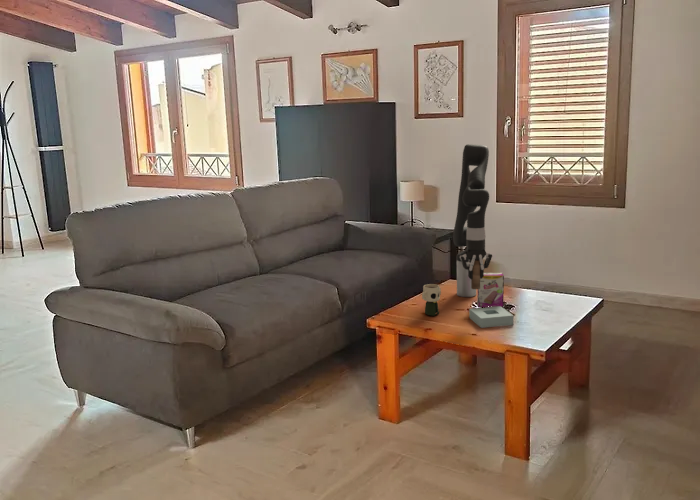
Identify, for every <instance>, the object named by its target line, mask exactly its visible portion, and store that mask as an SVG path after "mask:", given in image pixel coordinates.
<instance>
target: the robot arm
mask: <svg viewBox="0 0 700 500" xmlns="http://www.w3.org/2000/svg"><path fill="white" fill-rule="evenodd" d="M489 156H490V151H489V147H488V146H487V145H481V144H473V143H469V144H466V145H464V148H463V150H462V161H461V162H462V163H461V164H462V165H461V177H460V185H459V190H458V200H457V201H458V202H457V210H456V218H455V223H454V229H453V232H452V236H453V237H452V241H453V245H454V246H455V247H459V248H460V247H466V248H465V249H464V250H462V251H461V252H458V253H457V254H456V296H458V297H460V298H461V297H463V298H471V297H475V296H477V289H472V288H471V279H473V271H472V268H473V265H474V261H480V279H482V277H483V276H484V273H485V271H484V270H485V269H488V268H489V267H490V263H491V261H492V258H493V254H491V253H490V252H489V253H487V252H486V230H485V229H486V227H485V224H486V223H485V222H486V221H485V220H486V219H485V218H486V217H485V216H486V211H487V208H488V204H489V201H490V193H489V191H488V190H487V189H486V188H485V187H486V186H485V185H486V173H487V169H488V164H489ZM470 166H473V167H474V168H473V169H472V170H470ZM478 207H479V209H478V210H477V208H478ZM465 225H466V226H465ZM484 258H485V259H484ZM483 259H484V260H483ZM472 262H473V263H472Z"/></svg>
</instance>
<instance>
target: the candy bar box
mask: <svg viewBox="0 0 700 500" xmlns="http://www.w3.org/2000/svg"><path fill="white" fill-rule="evenodd" d="M504 283H505V275H504V274H503V272H484V276H483V277H482V279H480V289H477V295H476V296H477V303H476V305H478V307H488V306H489V307H491V306H492V307H497V306H501V307H502V308H504V298H505V297H504V296H505V295H504V290H505V289H504Z"/></svg>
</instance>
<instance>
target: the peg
mask: <svg viewBox="0 0 700 500" xmlns="http://www.w3.org/2000/svg"><path fill="white" fill-rule="evenodd" d="M472 263H473V262H472ZM472 271H473V279H471V288H472V289H476V290H478V289H480V261H474V265H473V268H472Z"/></svg>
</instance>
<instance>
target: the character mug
mask: <svg viewBox="0 0 700 500" xmlns="http://www.w3.org/2000/svg"><path fill="white" fill-rule="evenodd" d="M422 288H423V289H422V290H423V291H422V293H421V298H422V300H423V301H425V305H424V314H426V315H427V316H437V315H439V314H440V311H439V310H440V308H439V303H438V302H439V300H440V299H441V294H442V290H441V287H440V285H439V284H434V283H429V284H428V283H427V284H424V285H423V286H422Z"/></svg>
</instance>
